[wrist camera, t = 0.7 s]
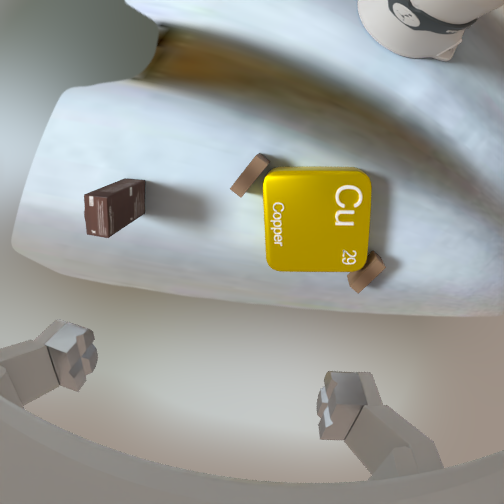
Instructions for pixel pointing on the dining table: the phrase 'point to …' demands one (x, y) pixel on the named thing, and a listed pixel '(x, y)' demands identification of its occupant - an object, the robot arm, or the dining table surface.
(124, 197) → the box
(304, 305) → the dining table surface
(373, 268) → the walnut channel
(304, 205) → the element tile
